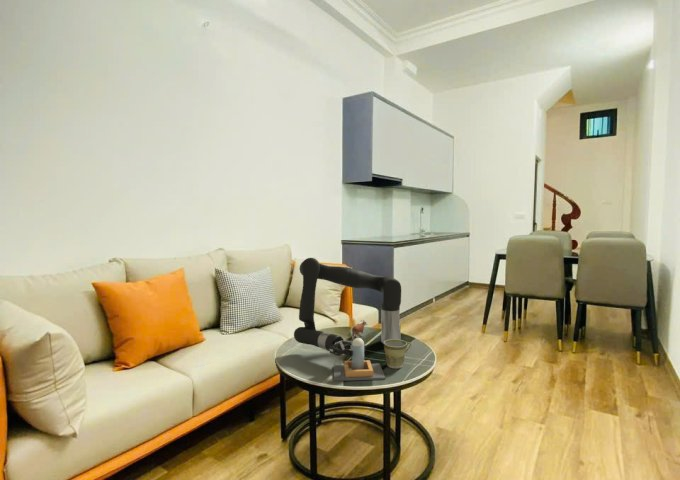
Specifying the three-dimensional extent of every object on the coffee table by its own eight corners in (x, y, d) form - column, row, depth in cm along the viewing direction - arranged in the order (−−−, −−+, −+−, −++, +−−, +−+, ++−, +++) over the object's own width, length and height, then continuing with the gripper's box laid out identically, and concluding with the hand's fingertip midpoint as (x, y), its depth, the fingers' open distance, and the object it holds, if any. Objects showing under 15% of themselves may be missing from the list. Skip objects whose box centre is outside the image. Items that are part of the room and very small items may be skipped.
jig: (379, 365, 160) (379, 358, 160) (385, 379, 146) (385, 372, 146) (333, 366, 159) (333, 359, 159) (334, 380, 145) (334, 373, 145)
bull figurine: (368, 334, 203) (368, 319, 203) (356, 341, 192) (356, 325, 192) (361, 333, 206) (361, 318, 205) (349, 339, 194) (349, 324, 194)
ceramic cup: (391, 371, 153) (391, 348, 153) (379, 363, 163) (379, 340, 162) (417, 366, 159) (417, 343, 158) (404, 358, 168) (404, 336, 167)
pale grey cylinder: (363, 368, 155) (363, 336, 155) (364, 373, 150) (364, 340, 150) (351, 368, 155) (351, 336, 155) (352, 373, 150) (352, 340, 150)
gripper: (318, 337, 157) (347, 346, 146) (341, 330, 168) (369, 337, 157) (318, 355, 158) (347, 365, 147) (341, 346, 168) (369, 355, 157)
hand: (359, 350), depth 152 cm, fingers open, 8 cm apart
